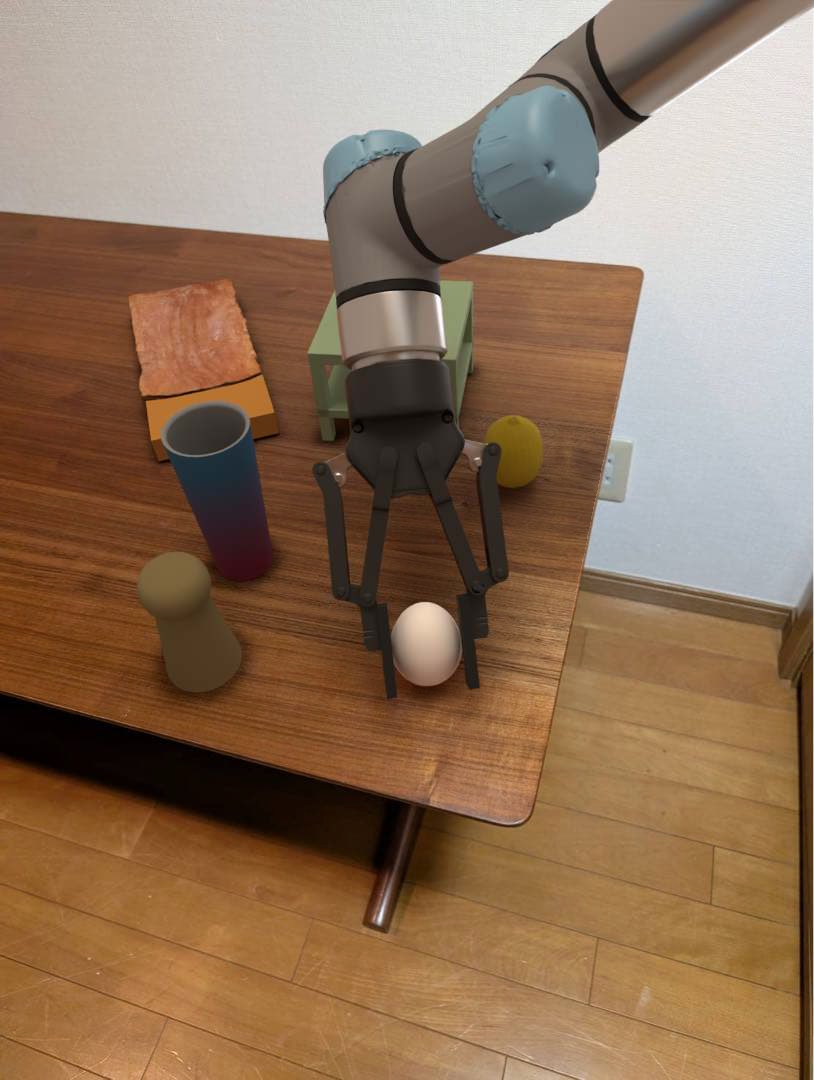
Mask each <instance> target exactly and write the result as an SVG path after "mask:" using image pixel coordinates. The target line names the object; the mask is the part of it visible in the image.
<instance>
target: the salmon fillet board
mask: <svg viewBox="0 0 814 1080" xmlns="http://www.w3.org/2000/svg"><path fill="white" fill-rule="evenodd" d="M127 299H128V308H129V311H130V316H131V325H132V333H133V337H134V343H135V352H136V355H137V359H138V363H139V366H140V370H141V373H140V376H139V378H138V379H139V380H138V389H139V391H140V394H141V395H140V397H141V400H142V401H143V402H144V404H145V407H146V414H147V420H148V428H149V434H150V442H151V445H152V447H153V450H154V452H155V456H156V459H157V461H158V462H162V461H165V460H166V461H167V460H170V459H169V457H168V454H167V452H166V450H165V448H164V445H163V443H162V441H161V432H162V428H163V426H164V425H165V423H166V422H167V421H168V419H169V418H170V417H172V416H173V415H174V414H175V413H177V412H178V411H180V410H182V409H184V408H186V407H188V406H191V405H194V404H197V403H201V402H206V401H225V402H230V403H233V404H236V405H238V406H240V407H241V408H243V409H244V410H245V411H246V412H247V414H248V416H249V418H250V424H251V430H252V435H253V440H255V439H260V438H263V437H268V436H273V435H276V434H279V433H280V431H279V426H278V422H277V417H276V414H275V410H274V406H273V402H272V400H271V397H270V394H269V390H268V387H267V384H266V381H265V378H264V374H263V373H262V370H261V365H260V364H259V362H258V357H257V356H258V355H257V352H256V351H255V347H254V344H253V342H252V337H251V334H250V330H249V328H248V325H247V322H248V320H247V319H246V318H245V317H244V314H243V311H242V309H241V307H240V304H239V299H238V293H237V290H236V287H235V284H234V283H233V281H231V279H229V278H223V279H219V280H213V281H210V282H202V283H196V284H195V283H194V284H189V285H184V286H179V287H175V288H168V289H161V290H157V291H156V290H155V291H150V292H139V293H135V294H129V295H128V298H127Z"/></svg>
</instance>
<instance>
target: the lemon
mask: <svg viewBox="0 0 814 1080" xmlns="http://www.w3.org/2000/svg"><path fill="white" fill-rule="evenodd" d="M491 442H495V443H497V444H499V445H500V447H501V449H502V450H501V457H500V461H499V466H498V471H497V475H496V477H497V485H499V486H502V487H504V488H508V489H516V488H520V487H521V488H522V487H523V486H526V485H528V484H529V483H530V482H532V481H533V480H534V479H535V477H536V476H537V475H538V474H539V472H540V470H541V468H542V464H543V460H544V443H543V438H542V435H541V432H540V431H539V428H538V427H537V426H536V424H535V423H534V422H532V420H530V419H528V418H527V417H524V416H522V415H518V414H517V415H516V414H515V415H514V414H512V415H511V414H510V415H505V416H503V417H501V418H499V419H497V420H496V421H495V422H493V423H492V424H491V426H490V427H489V428H488V430H487V431H486V434H485V436H484V441H483V443H484V444H489V443H491Z"/></svg>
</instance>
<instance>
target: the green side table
mask: <svg viewBox="0 0 814 1080" xmlns="http://www.w3.org/2000/svg"><path fill="white" fill-rule="evenodd" d="M440 287H441V289H440V292H441V300H442V307H443V316H444V324H445V333H446V341H447V350H448V351H447V354H446V355H445V356H444V357H443V358H442V359H441V360H440V361H441V362H444V363H445V364H446V366H448V367H449V369H450V378H451V387H452V396H453V405H454V414H455V420H456V424H457V426H458V428H459V429H460V414H461V408H462V404H463V399H464V394H465V388H466V384H467V383H466V382H467V377H468V374H471V375H472V374H473V373H474V372H473V371H474V281H470V280H467V281H466V280H440ZM306 355H307V360H308V364H309V371H310V376H311V383H312V390H313V394H314V400H315V405H316V412H317V417H318V423H319V428H320V435H321V440H322V441H327V442H334V441H335V439H336V434H337V431H336V424H335V419H346V420H349V415H348V406H347V397H346V388H345V378H346V377H347V375H348V374H349V373H350V372H351V371H352V370H351V369H348V368H347V367H345V366H344V365H343V363H342V354H341V345H340V337H339V328H338V319H337V305H336V294H335V289H334V290H333V293H332V295H331V297H330V300H329V302H328V305H327V306H326V309H325V311H324V313H323V316H322V318H321V321H320V323H319V324H318V327H317V329H316V333H315V335H314V337H313V339H312V341H311V344H310V346H309V348H308V350H307V353H306ZM326 366H333V368H332V369H331V372H330V375H329V378H328V374H327V369H326Z"/></svg>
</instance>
